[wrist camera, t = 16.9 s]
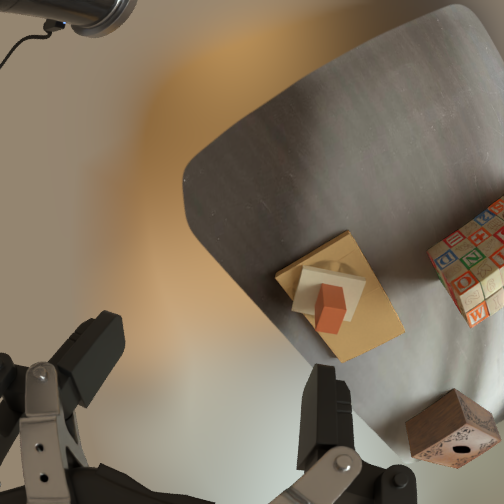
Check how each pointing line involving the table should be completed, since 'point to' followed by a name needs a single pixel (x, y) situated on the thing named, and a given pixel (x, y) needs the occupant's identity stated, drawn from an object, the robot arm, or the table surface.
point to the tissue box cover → (452, 431)
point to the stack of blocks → (474, 264)
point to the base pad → (368, 308)
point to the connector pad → (327, 277)
